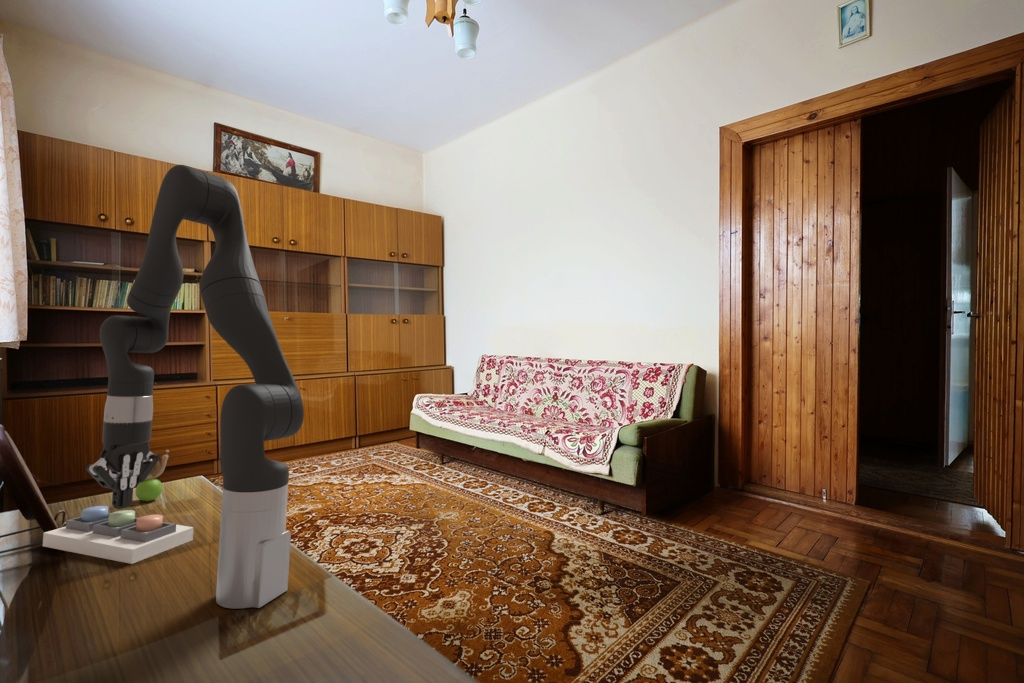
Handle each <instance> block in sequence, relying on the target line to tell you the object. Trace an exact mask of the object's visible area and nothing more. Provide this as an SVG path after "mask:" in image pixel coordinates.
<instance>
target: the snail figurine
mask: <svg viewBox="0 0 1024 683" xmlns="http://www.w3.org/2000/svg"><path fill="white" fill-rule="evenodd" d="M165 452H166V454H163V455H162V456H161V462H160V460H159V461H158V462H157V463H156V465H155V466H154V468H153V469H152V470H151V472H150V473H149V475H148V476H147V477H146V479H145V480H144V481H143V482H142V483H140V482H139V483H138V484H137V486H135V496H136V497H137V499H139V500H140V501H143V502H151V501H154V500H156V499H157V498H158V497H159V496H160V495H161V494H162V493H163V490H164V488H163V484H162V482H161V481H160V480H159V479H157V478H158V477H160V476H161V475H163V473H164V471H165V469H166V465H167V463H168V462H167V461H168V460H169V454H168V453H169V452H170V450H168V449H166V450H165Z"/></svg>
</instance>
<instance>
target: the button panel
mask: <svg viewBox="0 0 1024 683" xmlns="http://www.w3.org/2000/svg"><path fill="white" fill-rule="evenodd" d="M110 513H111V512H108V518H106V519H103V520H99V521H96V522H90V523H87V522H82V521H81V516H78V517H74V518H70V519H67V520H66V521H65V526H62V527H59V528H56V529H53V530H48V531H44V532H43V537H42V547H43V548H44V547H45V548H50V549H55V550H59V551H64V552H69V553H70V552H71V553H75V554H80V555H85V556H90V557H95V558H99V559H100V558H101V559H104V560H112V561H116V562H120V563H126V564H131V565H133V564H135V563H138V562H141V561H143V560H145V559H148V558H151V557H153V556H156V555H159V554H160V553H161V554H162V553H164V552H166V551H168V550H171V549H173V548H177V547H179V546H181V545H184V544H186V543H189V542H191V541H193V540H194V526H187V525H183V524H176V523H174V522H173V523H172V522H167V521H162V528H159V529H157V530H154V531H151V532H139V531H136V523H137V519H138V518H139V517H136V516H135V521H134V523H132V524H129V525H125V526H122V527H110V526H108V519H109V514H110Z"/></svg>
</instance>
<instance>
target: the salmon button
mask: <svg viewBox="0 0 1024 683" xmlns="http://www.w3.org/2000/svg"><path fill="white" fill-rule="evenodd" d="M137 518H138V519H137V523H136V531H139V532H151V531H154V530H157V529H159V528H162V522H164V521H163V520H164V516H163V515H162V514H148V515H142V516H140V517H137Z"/></svg>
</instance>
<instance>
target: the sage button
mask: <svg viewBox="0 0 1024 683" xmlns="http://www.w3.org/2000/svg"><path fill="white" fill-rule="evenodd" d="M109 513H110V514H109V519H108V526H110V527H122V526H125V525H129V524H132V523H134V521H135V517H136V511H135V510H133V509H127V510H126V509H125V510H124V509H122V510H118V511H117V510H116V511H114V512H109Z"/></svg>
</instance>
